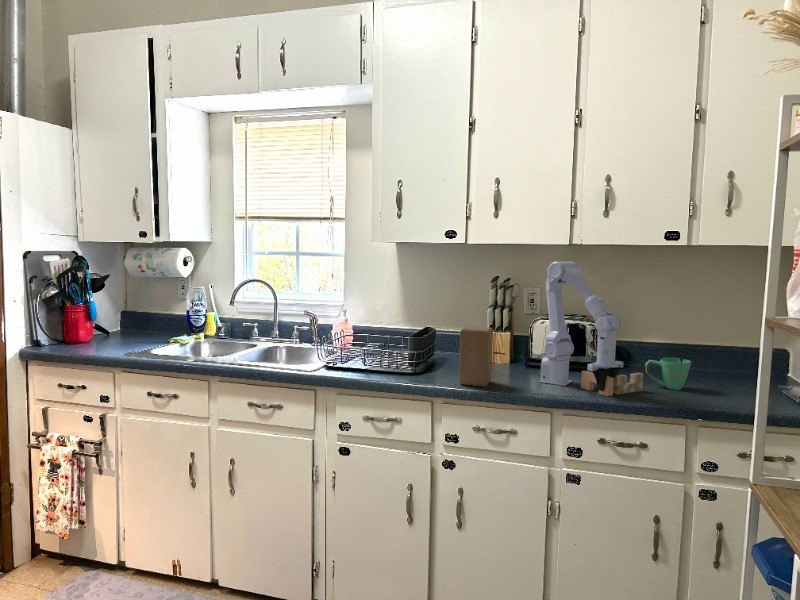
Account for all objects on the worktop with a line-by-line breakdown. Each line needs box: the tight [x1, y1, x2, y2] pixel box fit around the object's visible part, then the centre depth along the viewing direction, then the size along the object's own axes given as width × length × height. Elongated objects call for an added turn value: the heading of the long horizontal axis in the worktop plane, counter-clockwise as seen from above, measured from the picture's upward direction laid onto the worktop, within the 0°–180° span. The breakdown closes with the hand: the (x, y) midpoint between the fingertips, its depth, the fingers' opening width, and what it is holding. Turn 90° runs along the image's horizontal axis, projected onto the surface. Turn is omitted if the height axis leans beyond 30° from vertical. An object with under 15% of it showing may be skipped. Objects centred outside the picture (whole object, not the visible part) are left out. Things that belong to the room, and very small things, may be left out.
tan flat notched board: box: [580, 370, 614, 397], centre depth 193 cm, size 12×2×6 cm, turn 27°
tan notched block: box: [613, 372, 644, 395], centre depth 193 cm, size 12×2×6 cm, turn 117°
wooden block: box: [458, 325, 494, 388], centre depth 202 cm, size 10×10×20 cm
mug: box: [645, 357, 692, 391], centre depth 200 cm, size 15×10×10 cm
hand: (604, 389), depth 190 cm, fingers open, 2 cm apart
